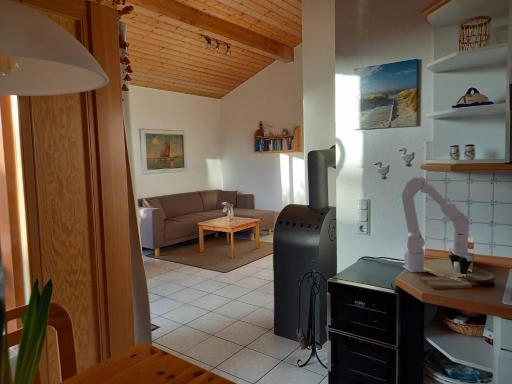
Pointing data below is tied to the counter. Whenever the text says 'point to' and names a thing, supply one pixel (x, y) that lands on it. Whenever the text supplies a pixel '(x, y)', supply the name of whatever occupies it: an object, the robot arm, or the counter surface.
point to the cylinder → (456, 267)
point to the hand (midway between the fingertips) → (459, 272)
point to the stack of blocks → (471, 250)
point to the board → (444, 282)
